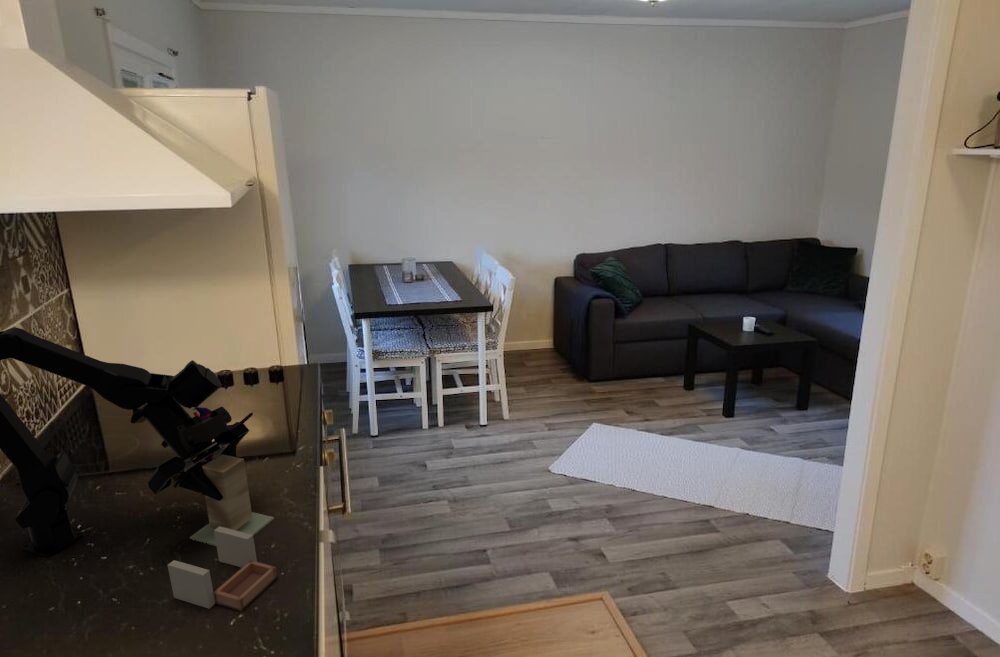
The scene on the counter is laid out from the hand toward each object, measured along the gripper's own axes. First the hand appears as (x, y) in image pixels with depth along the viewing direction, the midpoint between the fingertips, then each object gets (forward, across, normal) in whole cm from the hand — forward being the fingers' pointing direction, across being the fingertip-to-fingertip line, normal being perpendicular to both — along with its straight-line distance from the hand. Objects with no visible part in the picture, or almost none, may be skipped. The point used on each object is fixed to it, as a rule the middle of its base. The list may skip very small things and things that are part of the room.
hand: (232, 491), depth 110 cm
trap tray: (+15, -12, -3) cm, 19 cm away
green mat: (+5, 0, +7) cm, 8 cm away
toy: (-8, +16, +20) cm, 27 cm away
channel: (+10, -12, +1) cm, 16 cm away
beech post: (+4, 0, +6) cm, 7 cm away
